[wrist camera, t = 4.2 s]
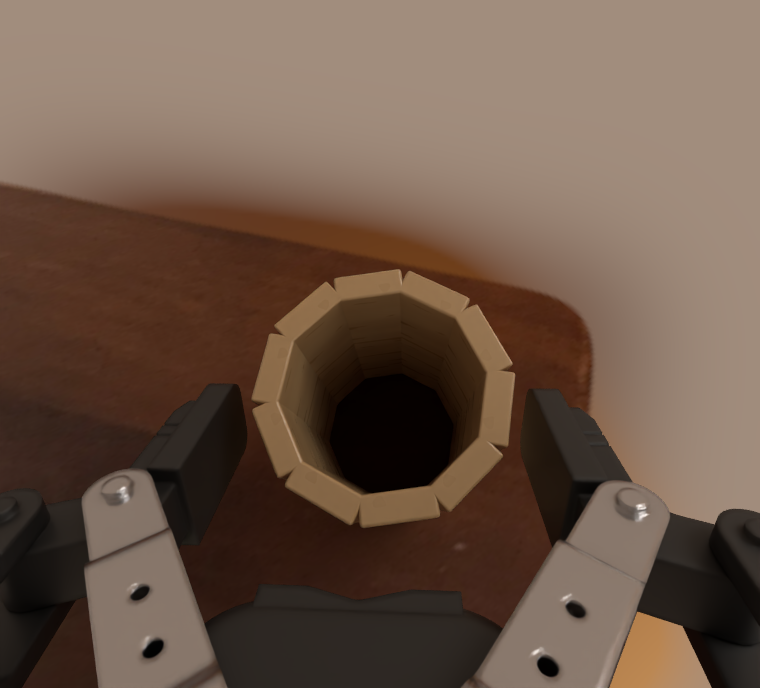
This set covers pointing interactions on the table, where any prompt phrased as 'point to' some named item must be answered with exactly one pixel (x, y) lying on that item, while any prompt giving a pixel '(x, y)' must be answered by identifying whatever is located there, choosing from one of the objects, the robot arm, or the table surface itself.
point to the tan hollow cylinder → (374, 359)
